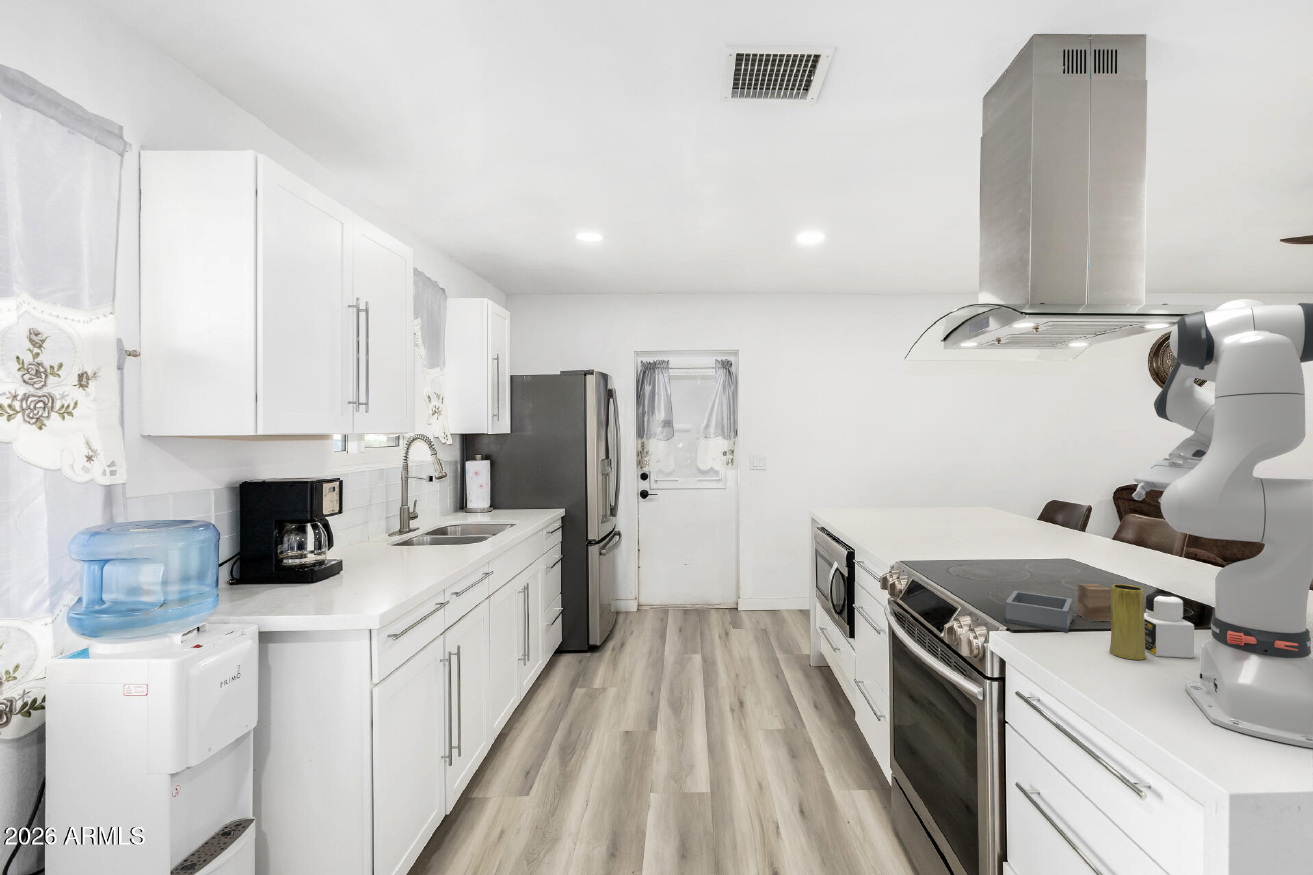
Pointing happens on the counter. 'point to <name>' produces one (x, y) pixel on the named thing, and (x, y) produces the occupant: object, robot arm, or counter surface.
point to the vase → (1128, 622)
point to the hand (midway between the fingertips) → (1148, 500)
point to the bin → (1039, 611)
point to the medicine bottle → (1167, 627)
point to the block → (1094, 602)
